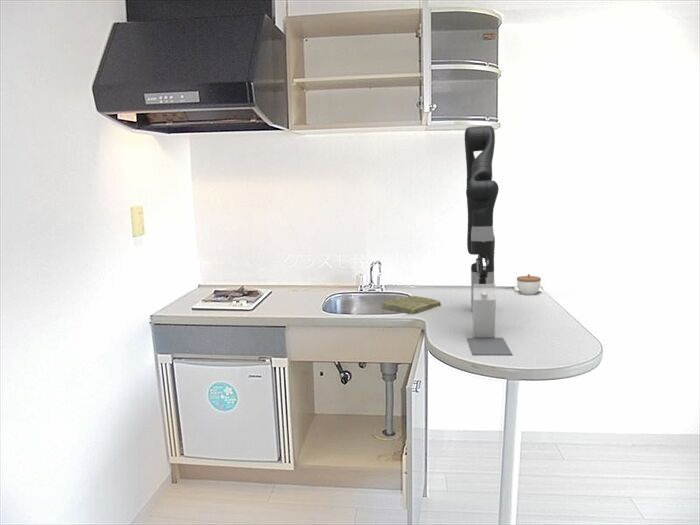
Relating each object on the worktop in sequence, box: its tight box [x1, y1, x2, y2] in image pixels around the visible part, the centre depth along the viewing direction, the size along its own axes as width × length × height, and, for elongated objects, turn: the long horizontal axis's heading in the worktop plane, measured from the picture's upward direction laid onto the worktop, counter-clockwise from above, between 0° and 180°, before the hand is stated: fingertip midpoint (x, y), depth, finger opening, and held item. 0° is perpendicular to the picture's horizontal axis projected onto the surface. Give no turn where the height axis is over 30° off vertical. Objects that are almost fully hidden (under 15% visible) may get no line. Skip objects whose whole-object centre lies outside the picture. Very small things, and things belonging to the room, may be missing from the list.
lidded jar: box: [516, 273, 541, 296], centre depth 245 cm, size 11×11×9 cm
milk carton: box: [472, 283, 497, 338], centre depth 176 cm, size 7×7×19 cm
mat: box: [466, 337, 513, 356], centre depth 167 cm, size 18×12×1 cm, turn 173°
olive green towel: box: [381, 295, 442, 315], centre depth 227 cm, size 19×20×4 cm
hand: (482, 289), depth 178 cm, fingers closed
